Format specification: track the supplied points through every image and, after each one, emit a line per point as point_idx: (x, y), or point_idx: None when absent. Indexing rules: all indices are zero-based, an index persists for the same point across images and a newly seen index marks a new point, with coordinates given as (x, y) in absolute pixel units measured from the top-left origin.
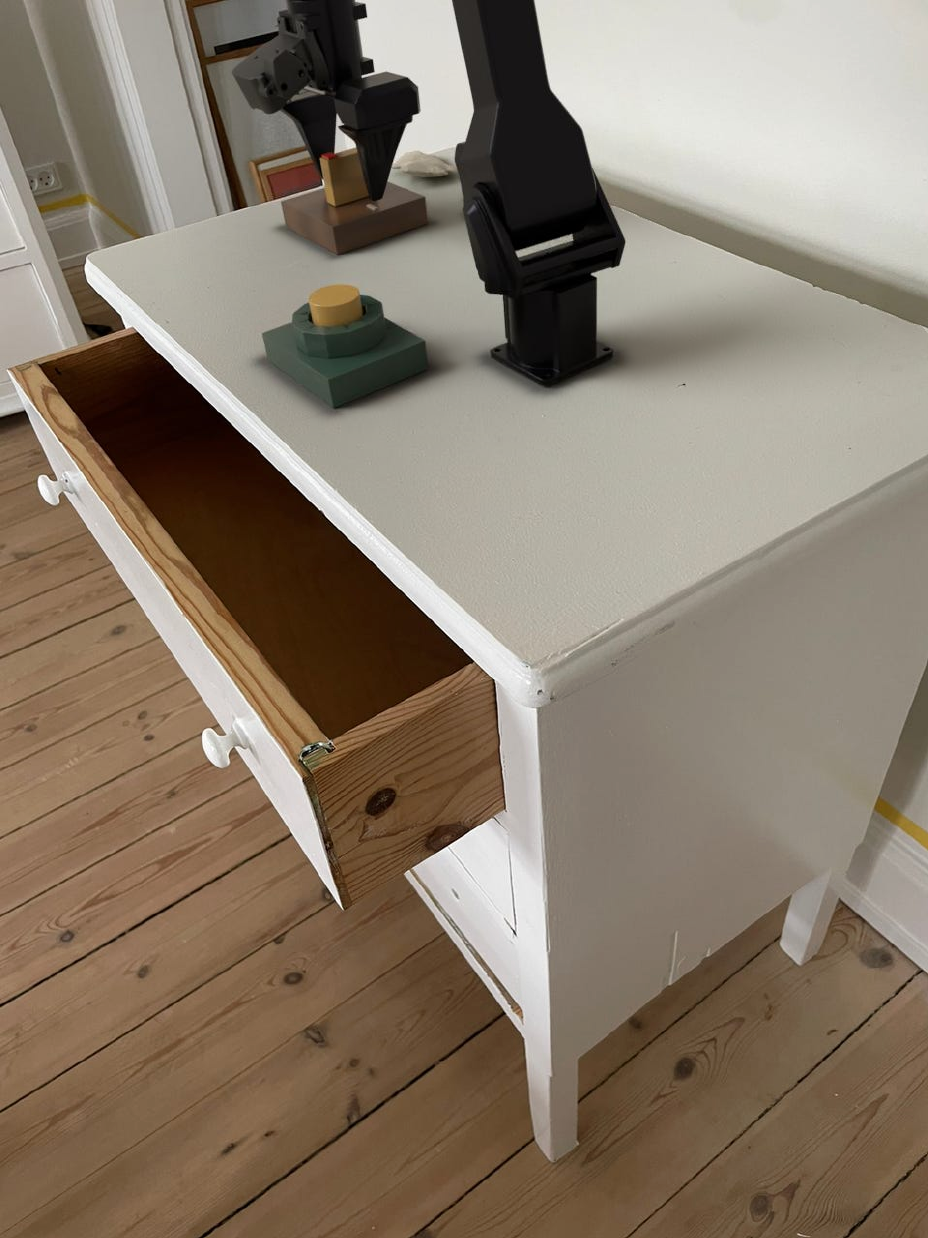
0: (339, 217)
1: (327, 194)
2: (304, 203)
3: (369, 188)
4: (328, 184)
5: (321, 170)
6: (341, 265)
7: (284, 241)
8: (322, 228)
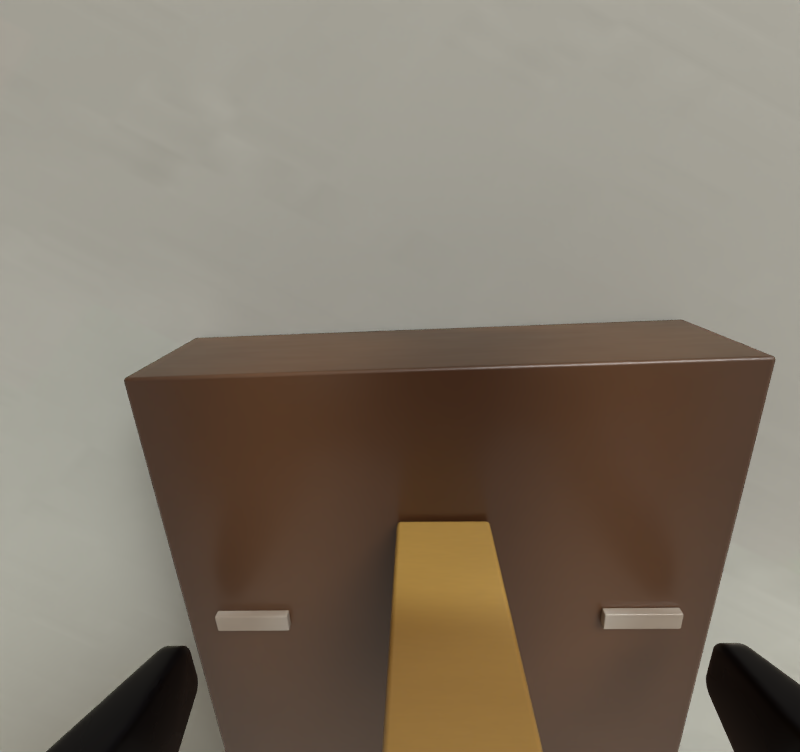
0: (243, 467)
1: (471, 553)
2: (601, 437)
3: (98, 706)
4: (433, 607)
5: (751, 692)
6: (78, 296)
7: (534, 232)
8: (263, 360)
